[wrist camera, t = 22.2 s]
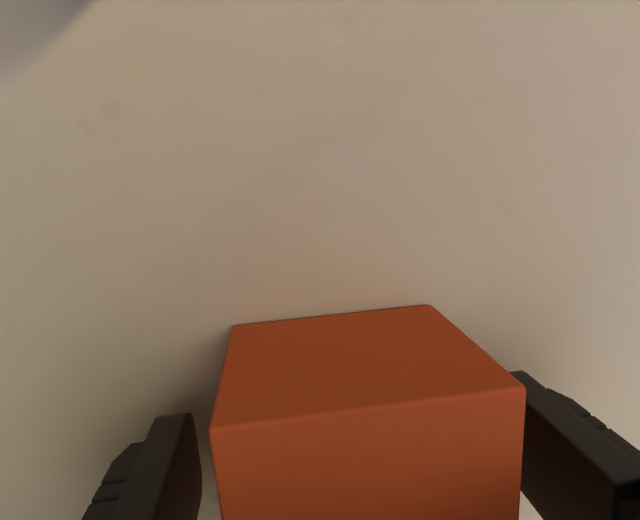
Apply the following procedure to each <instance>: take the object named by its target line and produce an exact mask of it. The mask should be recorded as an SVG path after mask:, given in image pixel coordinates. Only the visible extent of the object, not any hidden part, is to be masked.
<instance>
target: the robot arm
mask: <svg viewBox="0 0 640 520" xmlns="http://www.w3.org/2000/svg"><path fill="white" fill-rule="evenodd" d="M509 373H510V374H511V375H512V376H514V377H515V378H516V379H517V380H518V381H519V382H521V383H522V384H523V385H524V386H525V388H526V405H525V421H524V437H523V454H522V470H521V486H520V490H521V491H522V492H523V494H524V495H525V496H526V498H527V499H528V500H529V501H530V503H531V504H532V505H533V507H534V508H535V509H536V510H537V512H538V513H539V514H540V516H541V517H542V518H543V520H640V451H639V450H637V449H636V448H635V447H634V446H632V445H631V444H630V443H628V442H627V441H626V440H624V439H623V438H622V437H621V436H619V435H618V434H617V433H615V432H614V431H613V430H611V429H607V427H606V425H605V424H604V423H602V422H601V421H600V420H598V419H597V418H596V417H594V416H591V415H590V413H589V412H588V411H587V410H585V409H584V408H583V407H581V406H580V405H579V404H578V403H576V402H575V401H574V400H572V399H571V398H568V397H566V396H564V395H562V394H560V393H558V392H555V391H553V390H551V389H549V388H547V389H546V388H544V387H543V386H542V385H541V384H539V383H538V382H537V381H536V380H534V379H533V378H532V377H531V376H529V375H528V374H527V373H525V372H524V371H513V372H509ZM101 483H102V484H101V486H99V488H98V490H97V491H96V493H95V495H94V497H93V499H92V504H90V505H89V506H88V508H87V510H86V512H85V514H84V516H83V518H82V519H81V520H197V517H198V512H199V507H200V503H201V496H202V468H201V462H200V456H199V449H198V443H197V437H196V431H195V425H194V419H193V416H192V414H191V413H182V414H174V415H166V416H158V417H156V418H155V420H154V422H153V424H152V426H151V428H150V431H149V433H148V435H147V437H146V439H145V441H144V442H139V443H132V444H130V445H129V446H128V447H127V448H126V449H125V450H124V451H123V452H122V453H121V454H120V455H119V456H118V457H117V458H116V459H115V460H114V461H113V462H112V463H111V465H110V467H109V469H108V471H107V473H106V475H105V476H104V478H103V480H102V482H101Z"/></svg>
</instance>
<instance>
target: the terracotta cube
mask: <svg viewBox="0 0 640 520" xmlns="http://www.w3.org/2000/svg"><path fill="white" fill-rule="evenodd" d="M525 405H526V388H525V386H524V385H523V384H522V383H521V382H519V381H518V380H517V379H516V378H515V377H514V376H512V375H511V374H510V373H509V372H508V371H507V370H506V369H504V368H503V367H502V366H501V365H500V364H499V363H497V362H496V361H495V360H494V359H493V358H492V357H490V356H489V355H488V354H487V353H486V352H485V351H483V350H482V349H481V348H480V347H479V346H478V345H476V344H475V343H474V342H473V341H472V340H471V339H469V338H468V337H467V336H466V335H465V334H464V333H463V332H461V331H460V330H459V329H458V328H457V327H456V326H454V325H453V324H452V323H451V322H450V321H449V320H447V319H446V318H445V317H444V316H443V315H442V314H440V313H439V312H438V311H437V310H436V309H435V308H433V307H432V306H431V305H422V306H413V307H403V308H394V309H385V310H376V311H366V312H357V313H348V314H339V315H329V316H320V317H311V318H302V319H292V320H283V321H274V322H265V323H255V324H246V325H237V326H233V328H232V332H231V336H230V340H229V345H228V349H227V353H226V358H225V362H224V366H223V370H222V375H221V379H220V383H219V388H218V392H217V396H216V401H215V405H214V409H213V414H212V418H211V422H210V427H209V431H208V432H209V438H210V445H211V451H212V458H213V465H214V471H215V478H216V484H217V491H218V498H219V504H220V511H221V517H222V520H518V519H519V503H520V486H521V470H522V454H523V437H524V421H525Z"/></svg>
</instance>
